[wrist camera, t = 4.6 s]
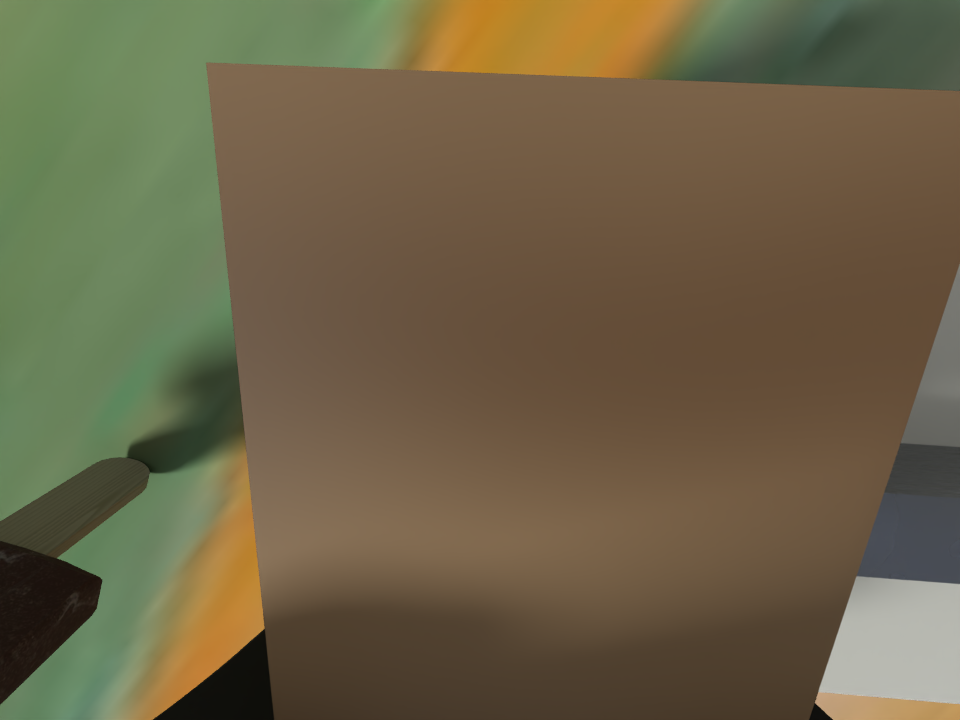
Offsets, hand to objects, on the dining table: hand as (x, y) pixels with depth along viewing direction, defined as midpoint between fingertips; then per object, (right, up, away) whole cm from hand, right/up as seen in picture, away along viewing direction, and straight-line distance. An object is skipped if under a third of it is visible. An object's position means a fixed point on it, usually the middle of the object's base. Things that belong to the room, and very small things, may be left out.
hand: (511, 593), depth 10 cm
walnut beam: (0, 0, +1) cm, 2 cm away
